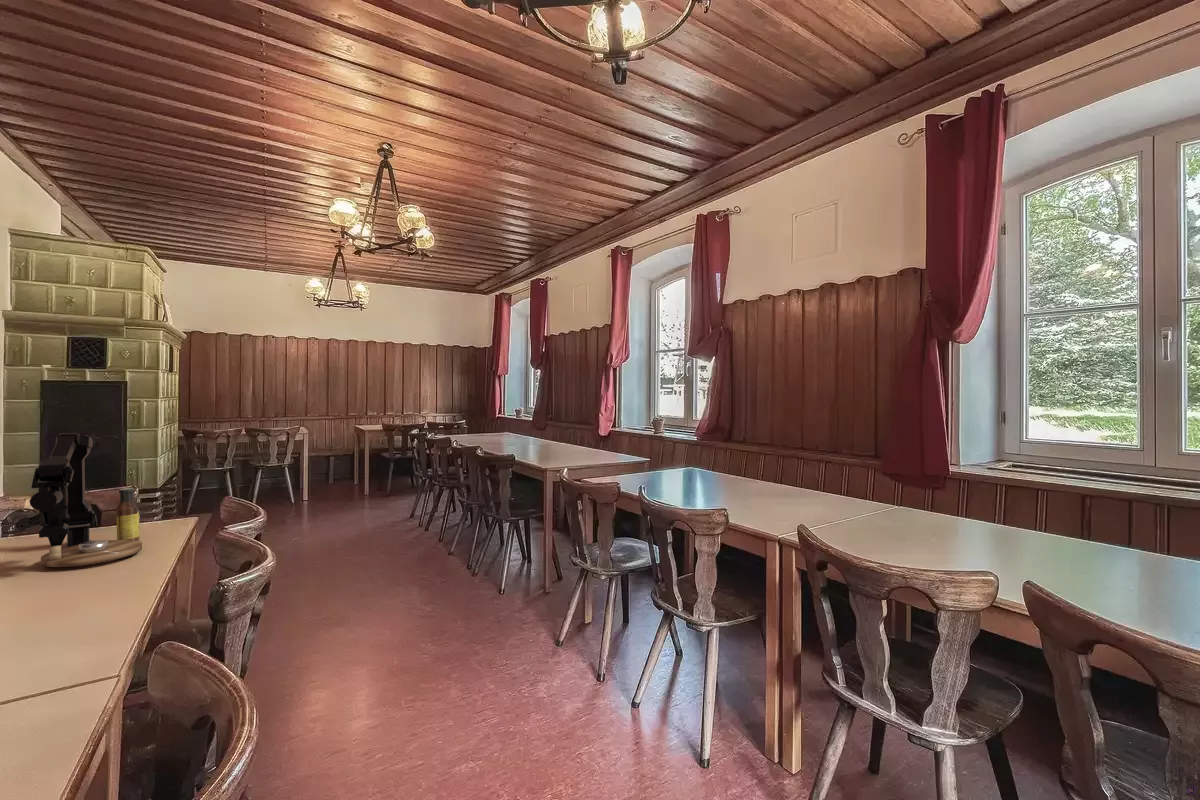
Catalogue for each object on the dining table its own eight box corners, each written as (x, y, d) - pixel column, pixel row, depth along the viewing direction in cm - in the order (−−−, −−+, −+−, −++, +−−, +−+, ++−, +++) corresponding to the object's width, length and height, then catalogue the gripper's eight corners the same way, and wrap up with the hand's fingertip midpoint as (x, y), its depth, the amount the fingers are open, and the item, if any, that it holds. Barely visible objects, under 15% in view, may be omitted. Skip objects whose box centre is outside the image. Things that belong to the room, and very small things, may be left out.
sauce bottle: (144, 540, 194) (144, 487, 193) (127, 545, 187) (127, 490, 187) (128, 539, 194) (128, 486, 194) (111, 544, 188) (111, 489, 188)
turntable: (21, 562, 164) (21, 544, 164) (110, 541, 187) (110, 526, 187) (73, 570, 158) (73, 552, 157) (159, 547, 181) (159, 531, 181)
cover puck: (73, 552, 170) (73, 544, 170) (98, 546, 176) (98, 539, 176) (88, 554, 168) (88, 546, 168) (113, 548, 175) (113, 540, 174)
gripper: (18, 501, 165) (20, 549, 165) (12, 513, 151) (14, 566, 152) (68, 496, 173) (70, 542, 173) (67, 507, 159) (69, 557, 160)
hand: (55, 551), depth 165 cm, fingers closed
